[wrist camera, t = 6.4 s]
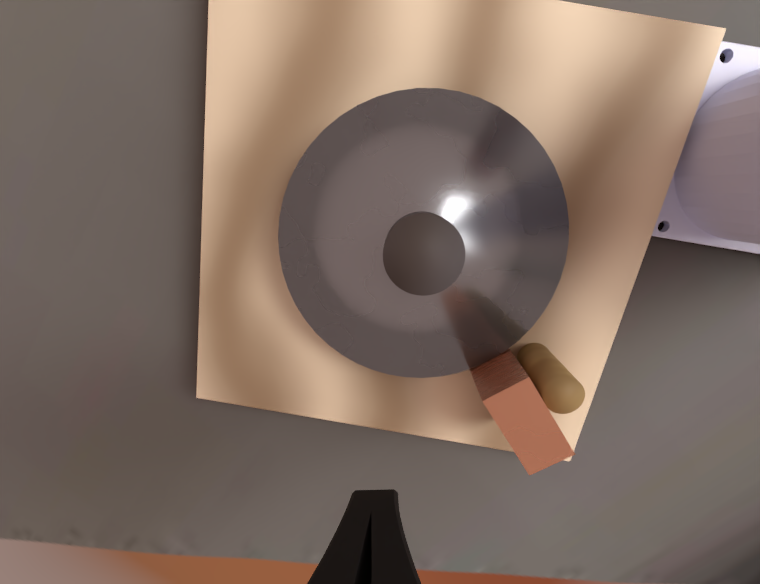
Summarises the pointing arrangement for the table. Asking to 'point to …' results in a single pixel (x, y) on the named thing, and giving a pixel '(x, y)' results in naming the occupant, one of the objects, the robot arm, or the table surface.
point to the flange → (466, 213)
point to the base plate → (453, 47)
